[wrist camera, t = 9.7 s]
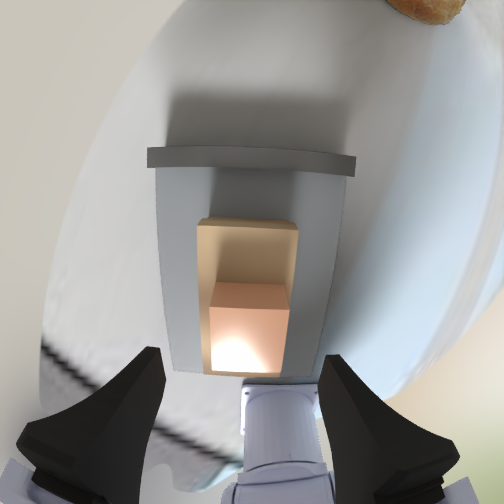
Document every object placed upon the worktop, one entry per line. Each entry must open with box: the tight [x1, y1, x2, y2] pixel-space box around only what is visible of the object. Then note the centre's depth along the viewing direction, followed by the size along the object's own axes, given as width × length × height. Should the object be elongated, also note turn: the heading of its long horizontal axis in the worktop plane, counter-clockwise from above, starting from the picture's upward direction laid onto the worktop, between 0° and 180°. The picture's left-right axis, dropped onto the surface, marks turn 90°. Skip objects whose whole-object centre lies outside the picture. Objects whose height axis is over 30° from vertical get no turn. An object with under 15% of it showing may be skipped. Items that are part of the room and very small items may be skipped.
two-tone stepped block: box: [197, 216, 299, 378], centre depth 17 cm, size 10×5×4 cm, turn 177°
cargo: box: [209, 282, 290, 372], centre depth 14 cm, size 4×4×2 cm
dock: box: [147, 146, 356, 377], centre depth 19 cm, size 18×12×4 cm, turn 177°
